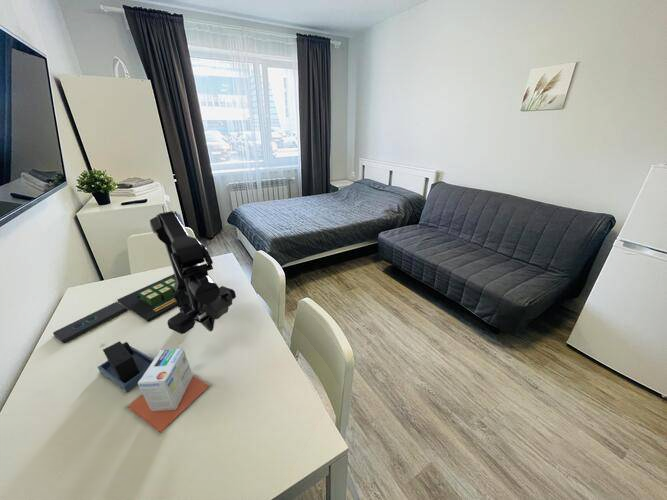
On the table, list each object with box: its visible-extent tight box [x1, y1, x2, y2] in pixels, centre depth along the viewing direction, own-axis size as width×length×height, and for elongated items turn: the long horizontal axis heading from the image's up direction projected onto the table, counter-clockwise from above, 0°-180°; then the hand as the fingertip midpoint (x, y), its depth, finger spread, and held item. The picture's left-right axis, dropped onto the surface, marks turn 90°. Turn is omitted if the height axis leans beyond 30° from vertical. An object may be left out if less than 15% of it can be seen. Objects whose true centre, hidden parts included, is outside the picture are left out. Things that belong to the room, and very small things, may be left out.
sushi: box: [116, 273, 178, 322], centre depth 115 cm, size 25×25×4 cm
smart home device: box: [52, 301, 128, 344], centre depth 100 cm, size 8×2×20 cm
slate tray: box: [97, 345, 154, 393], centre depth 80 cm, size 9×14×2 cm, turn 62°
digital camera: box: [102, 341, 140, 383], centre depth 78 cm, size 10×5×7 cm, turn 52°
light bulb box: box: [137, 348, 194, 411], centre depth 71 cm, size 11×7×11 cm, turn 3°
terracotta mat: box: [127, 375, 210, 433], centre depth 72 cm, size 14×14×1 cm
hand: (210, 330), depth 81 cm, fingers closed
